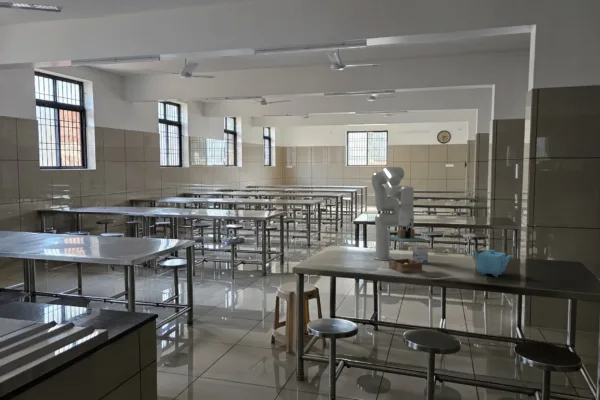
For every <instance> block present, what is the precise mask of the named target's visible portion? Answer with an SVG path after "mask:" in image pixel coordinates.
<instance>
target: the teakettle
mask: <svg viewBox="0 0 600 400" xmlns="http://www.w3.org/2000/svg"><path fill="white" fill-rule="evenodd" d="M470 251H471V252H472V253H473V255H474V256H475V261H476V263H477V269H476V270H477V273H480V276H486V275H487V274H489V275H492V277H493V276H495V277H494V278H499V276H501V275H503V273H504V272H505V271H506V267H507V266H508V264H509V261H510V259H511V258H512V257H514V255H512V254H509V255H507V253H505V252H499V251H496V250H495V249H489V250H485V251H482V252H480V253H478V252H477V250H472V249H471V250H470Z"/></svg>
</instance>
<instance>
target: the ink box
mask: <svg viewBox="0 0 600 400" xmlns="http://www.w3.org/2000/svg"><path fill="white" fill-rule="evenodd" d="M412 248H413V249H412V260H414V261H417V262H420V263H422V264H424V265H427V264H428V260H429V246H428V245H424V244H423V245H413V246H412Z"/></svg>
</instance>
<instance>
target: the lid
mask: <svg viewBox="0 0 600 400" xmlns="http://www.w3.org/2000/svg"><path fill="white" fill-rule="evenodd" d="M405 235H406V229H401V228H400V229H397V235H390V236H387V238H389V239H390V240H393V241H398V242H401V243H411V242H424V241H426V238H423V237H419V236H415V229H414V228H412V229H411V232H410V238H406V237H405Z"/></svg>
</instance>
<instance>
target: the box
mask: <svg viewBox="0 0 600 400" xmlns="http://www.w3.org/2000/svg"><path fill="white" fill-rule="evenodd" d="M404 263H408V264H404ZM388 269H390V270H393V271H395V272H398V273H401V274H409V273H419V272H422V271H423V263H420V262H417V261H414V260H413V259H411V258H400V259H399V258H398V259H391V260H388Z"/></svg>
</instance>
